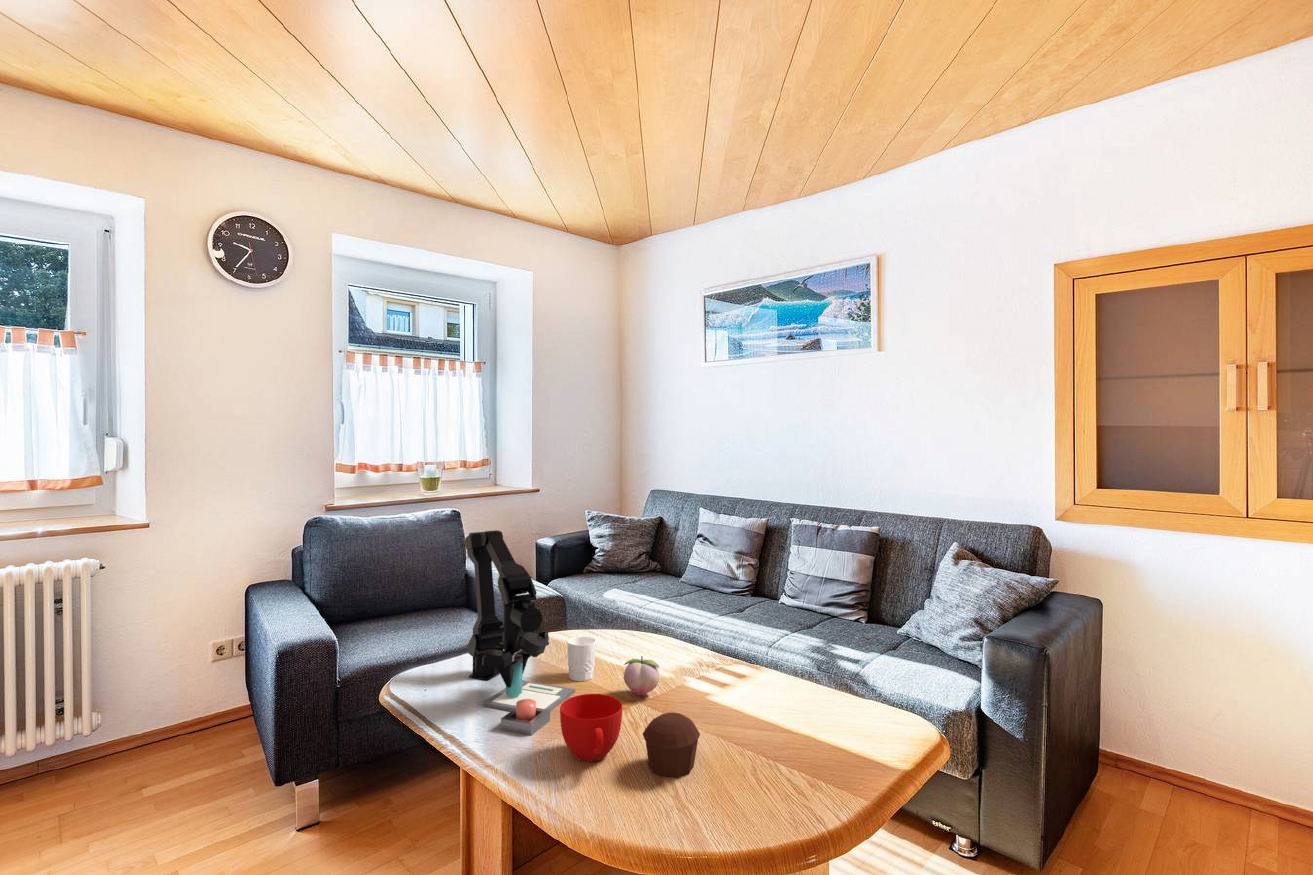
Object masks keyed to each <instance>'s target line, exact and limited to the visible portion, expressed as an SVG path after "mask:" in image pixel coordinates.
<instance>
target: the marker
mask: <svg viewBox="0 0 1313 875" xmlns="http://www.w3.org/2000/svg"><path fill="white" fill-rule="evenodd" d="M514 661H518V663H517V664H516V665H515V666H514V668H513V677H512V685H511V687H510V688H508V687H506V686H505V688H506V694H507V695H511V696H514V695H519V694H521V693H522V680H523V676H522V661H523V655H521V654H515V656H514Z"/></svg>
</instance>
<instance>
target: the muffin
mask: <svg viewBox="0 0 1313 875" xmlns="http://www.w3.org/2000/svg"><path fill="white" fill-rule="evenodd" d="M642 736H643V738H644V740H645V746H646V753H647V761H648V766H649V768H650V769H651V773H652V774H654V775H658V776H660V777H661V778H664V779H665V778H671V779H672V778H673V779H680V778H682V777H684V776H688V775H690V773H691V771H692V770H693V768H694V766H695V762H696V754H697V750H698V749H697V748H698V743H699V738H700V736H701V733H700V732H699V730H698V727H696V724H695V722H694V721H693V720H692V719H691V718H689V717H688V716H686V715H685V714H682V713H680V712H665V713H662V714H660V715H658V716H657V717H654V718H653V719H652V720H651V721H650V722H649V723H648V725H647V726H646V727H645V729H644V730H643V733H642Z"/></svg>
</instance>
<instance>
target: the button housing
mask: <svg viewBox="0 0 1313 875" xmlns="http://www.w3.org/2000/svg"><path fill="white" fill-rule="evenodd" d="M550 721H551V711H550V710H546V709H541V708H536V717H535V718H533V719H532V720H531V721H526V720H521V719H516V708H515V709H514V710H512V711H509V712H508V713H506V714H505V715H504V716H502V717H501V718H500V730H502V731H508V732H513V733H518V734H523V735H528V736H533V735H534V734H535V733H537V732H538V731H539V730H541V728H543V727H544V726H545V725H546V724H548V723H549V722H550Z"/></svg>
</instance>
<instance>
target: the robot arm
mask: <svg viewBox="0 0 1313 875" xmlns="http://www.w3.org/2000/svg"><path fill="white" fill-rule="evenodd" d="M464 548H465V549H466V551H467V552H466V553H467V557H468V558H469V559H470V561H471V562H472V563H473V566H474V568H473V569H474V579H475V592H476V595H475V596H476V607H477V608H476V609H477V619H476V620H475V622H474V625H473V627H472V635H471V637H470V639H469V641H468V643H467V646H466V647H467V654H469V655H470V656H471V657H472V673H469V674H468V677H469V678H472V679H479V680H480V679H481V680H485V681H488V680H491V679H493V678H495V677H496V676H498V675H500V676H501V678H502V680H503V683H504V685H505V688H506V687H508V688H510V687H511V685H512V677H513V668H514V666H515V665H516V664H517V663H518V661H514V656H515V654H521V655H523V661H522V677H523V675H524V672H525V669H526V666H527V663H528V660H529V659H530V658H531V657H532V658H537V657H539V656H540V655H541V654H544V653H545V650H546V647H547V646H548V645H550V642H549V641H550V639H549V638H550V637H549V636H550V635H549V632H548V631H546V630H545V629H543V630H540V631H539V632H535V631H537V630H538V629H539V628H540V626H541V625H542V622H543V617H544V616H543V614H542V612H541V611H540V610H539V608H537V607H536V602H534V601H536V600H537V594H538V593H537V590H536V587H535V585H534V582H533V579H532V577H531V575H530V574H529V572H528V571H527V569H526V568H525V567H524V566H523V565H521V564H519V563H517V562H516V561H515V558H514V557H513V555H512V553H511V551H510V549H509V547H508V546H507V543H506V541H505V539H504V534H503V532H502V531H501V530H499V529H497V530H485V531H477V532H470V533H469V534H468V536H466V537H465V539H464ZM492 563H493V564H494V566H495V569H496V571H497V573H498V579H497V588H498V591H499V594H500V595H501V601H502V620H500V619H499V618H498V616H497V615H496V614H497V613H496V605H495V604H496V600H495V591H494V577H493V566H492Z"/></svg>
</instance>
